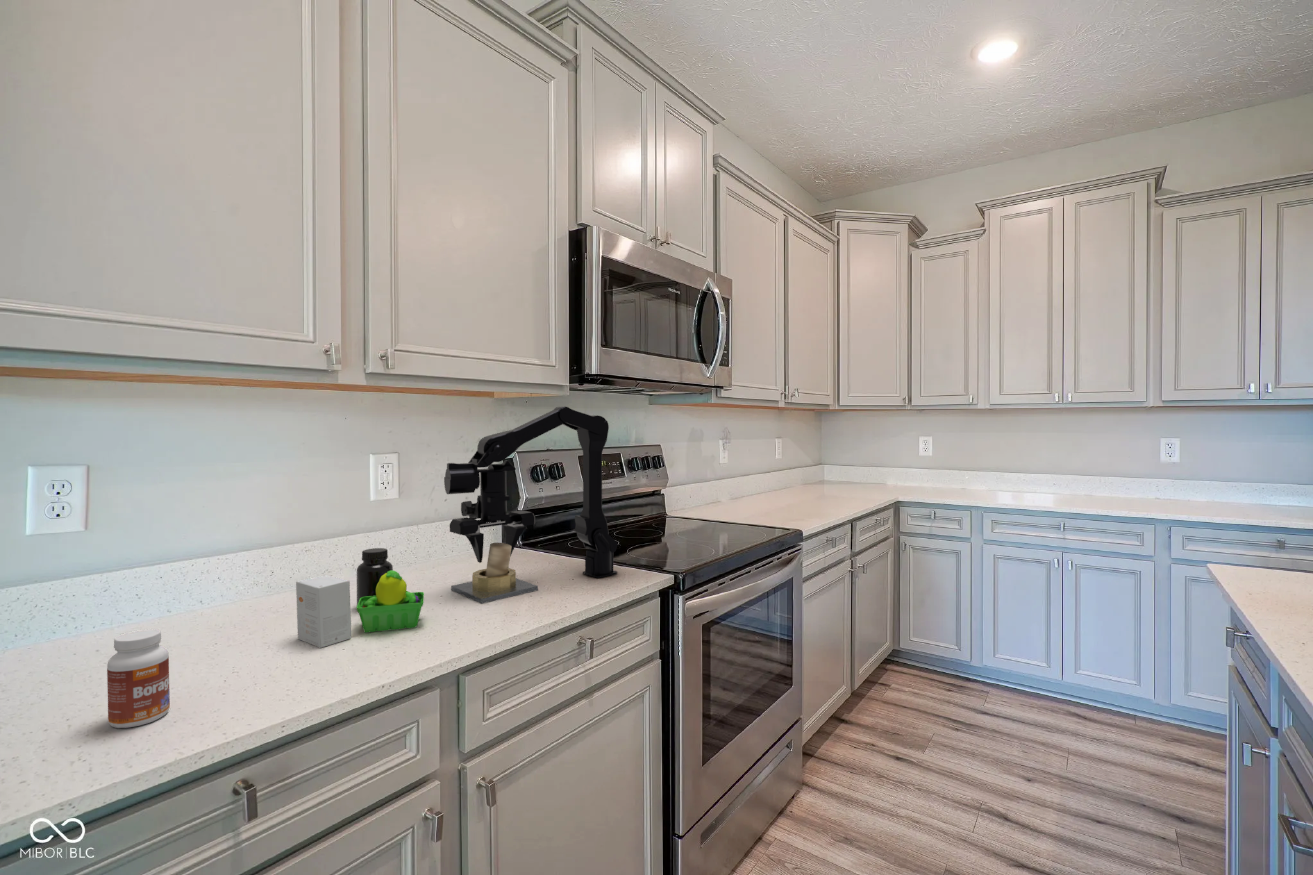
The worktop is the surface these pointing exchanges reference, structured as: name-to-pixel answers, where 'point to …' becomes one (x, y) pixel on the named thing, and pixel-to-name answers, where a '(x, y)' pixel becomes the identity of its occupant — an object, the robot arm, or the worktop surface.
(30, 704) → the worktop surface
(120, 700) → the pill bottle
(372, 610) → the fruit basket
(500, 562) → the piston
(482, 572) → the ring collar
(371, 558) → the supplement bottle
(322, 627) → the small box
